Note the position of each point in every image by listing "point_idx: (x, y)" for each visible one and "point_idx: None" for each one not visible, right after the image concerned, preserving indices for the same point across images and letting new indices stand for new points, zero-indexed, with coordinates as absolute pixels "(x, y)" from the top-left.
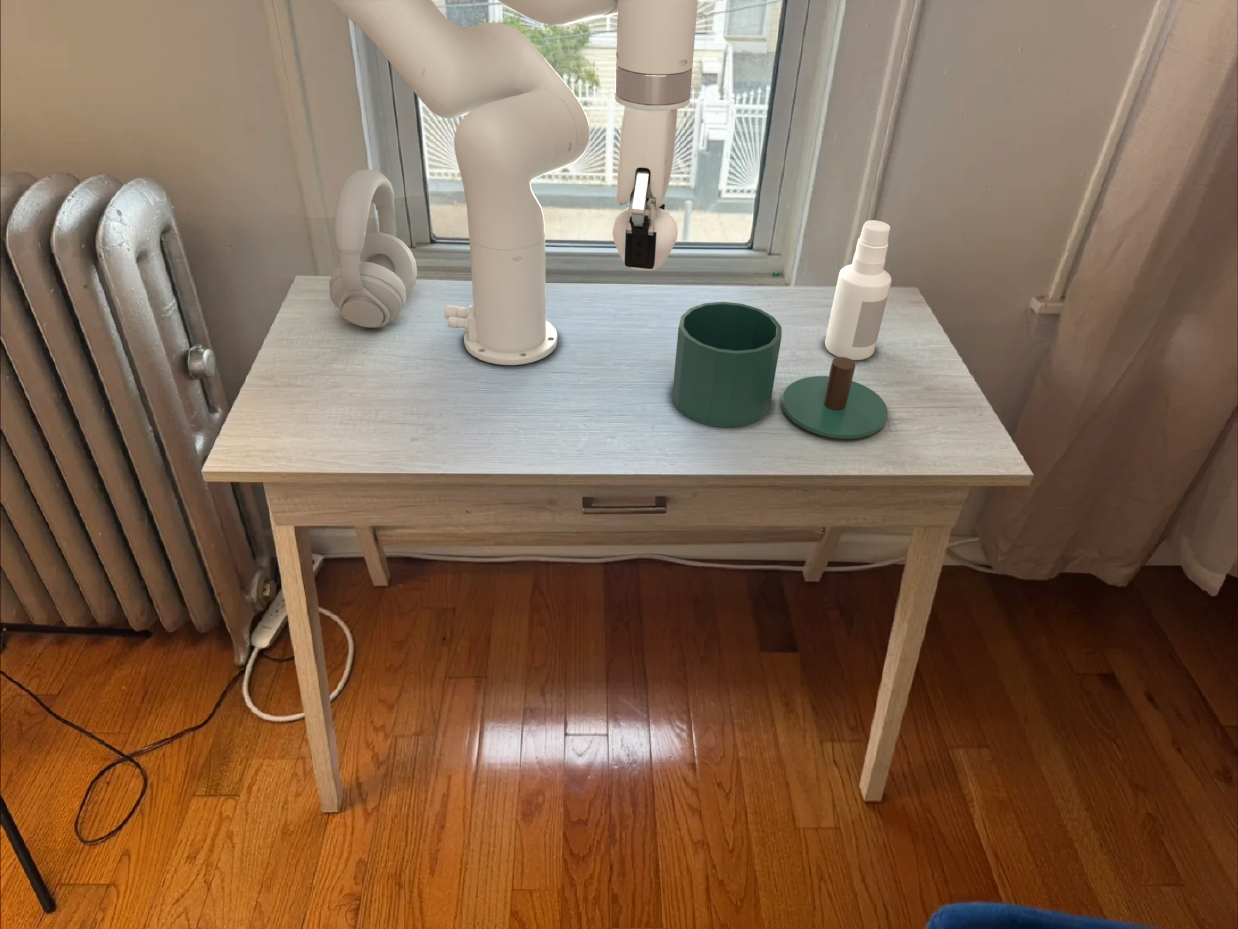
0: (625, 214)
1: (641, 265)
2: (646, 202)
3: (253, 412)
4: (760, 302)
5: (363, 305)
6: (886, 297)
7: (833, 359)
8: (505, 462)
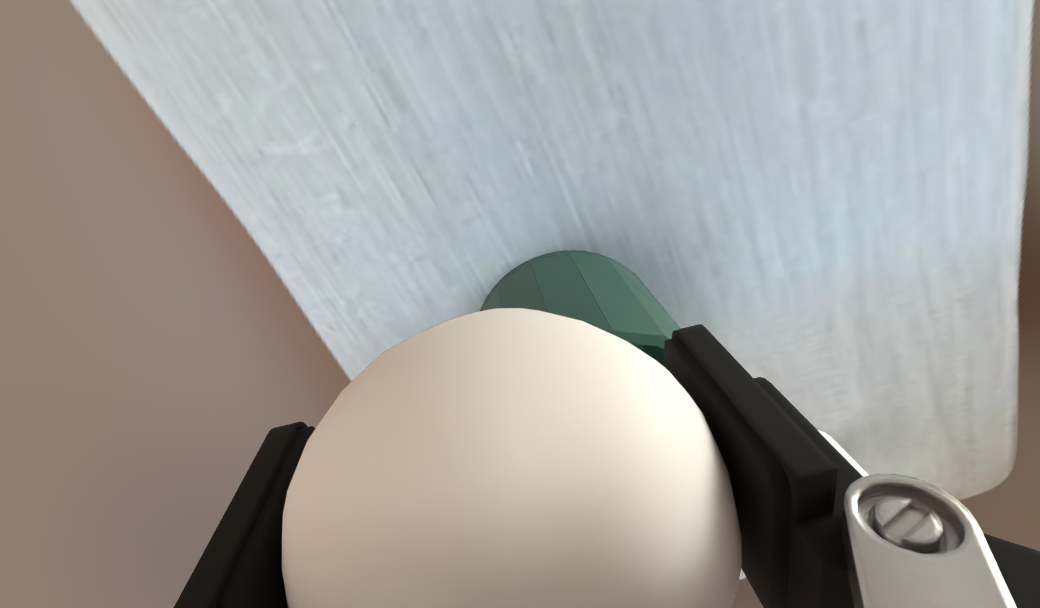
0: (421, 567)
1: None
2: (800, 557)
3: None
4: (946, 294)
5: None
6: None
7: None
8: (105, 7)
